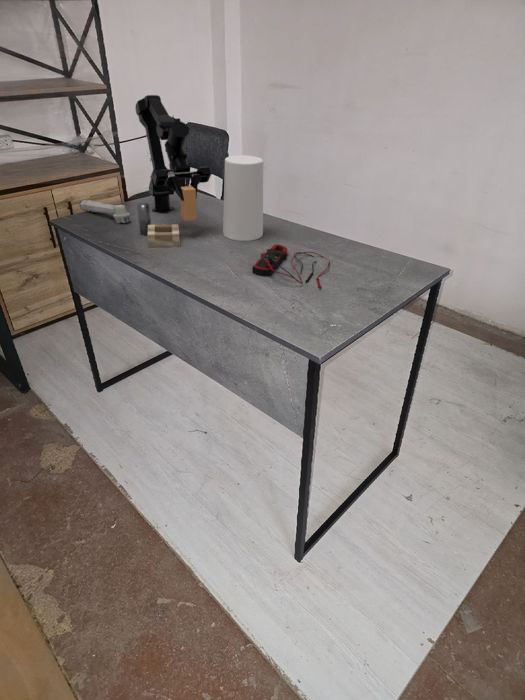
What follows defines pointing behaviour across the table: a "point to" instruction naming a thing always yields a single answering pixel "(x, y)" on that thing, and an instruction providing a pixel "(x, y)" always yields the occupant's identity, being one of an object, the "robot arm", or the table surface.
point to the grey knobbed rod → (106, 209)
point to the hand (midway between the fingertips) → (189, 199)
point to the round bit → (144, 217)
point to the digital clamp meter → (273, 260)
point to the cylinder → (243, 198)
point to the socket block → (163, 235)
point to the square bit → (188, 203)
